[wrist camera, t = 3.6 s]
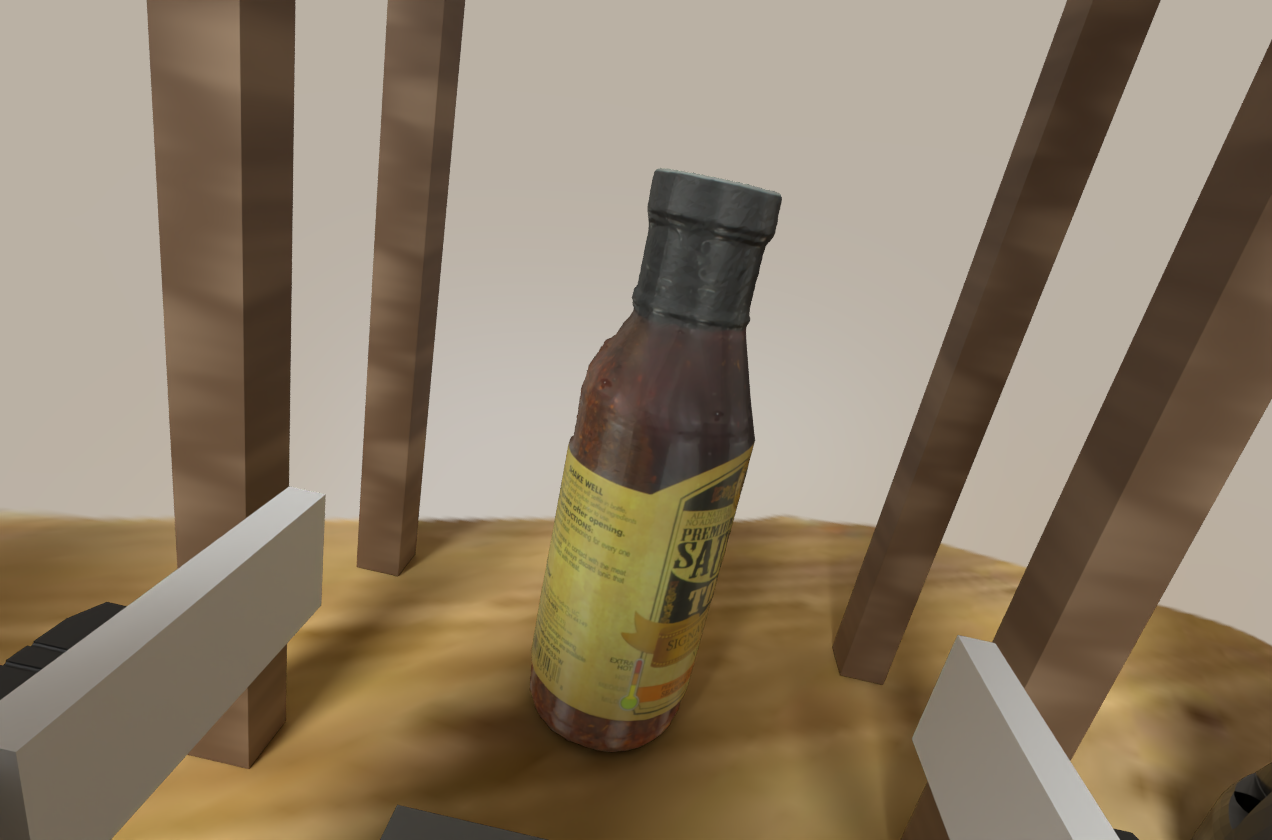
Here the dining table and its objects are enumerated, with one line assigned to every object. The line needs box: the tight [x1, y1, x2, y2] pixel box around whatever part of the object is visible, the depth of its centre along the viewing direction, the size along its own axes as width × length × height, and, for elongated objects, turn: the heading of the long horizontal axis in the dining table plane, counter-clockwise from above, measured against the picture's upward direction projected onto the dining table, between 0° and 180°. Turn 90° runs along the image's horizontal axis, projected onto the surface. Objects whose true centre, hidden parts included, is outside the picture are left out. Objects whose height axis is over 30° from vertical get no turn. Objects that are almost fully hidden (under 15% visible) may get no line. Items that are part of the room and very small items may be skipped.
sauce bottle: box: [530, 168, 782, 752], centre depth 24 cm, size 7×6×20 cm
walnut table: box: [147, 0, 1272, 840], centre depth 21 cm, size 25×13×32 cm, turn 84°
